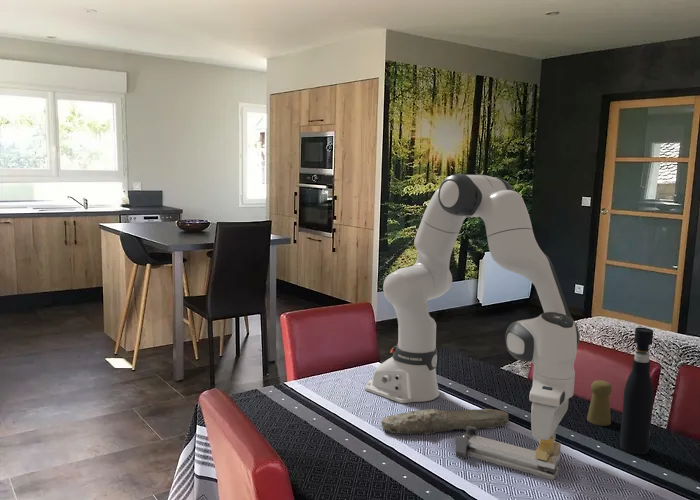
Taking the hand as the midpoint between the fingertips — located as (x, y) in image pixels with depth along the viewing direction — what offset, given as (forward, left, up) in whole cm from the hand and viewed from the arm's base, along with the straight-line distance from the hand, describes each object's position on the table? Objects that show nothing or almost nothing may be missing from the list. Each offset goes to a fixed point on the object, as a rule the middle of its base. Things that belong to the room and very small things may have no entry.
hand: (549, 442), depth 136 cm
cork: (+6, +31, -5) cm, 32 cm away
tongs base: (-8, -5, -5) cm, 11 cm away
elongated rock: (-28, +6, -6) cm, 29 cm away
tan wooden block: (0, +1, -5) cm, 5 cm away
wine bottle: (+16, +19, -5) cm, 25 cm away
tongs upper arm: (-8, -5, -3) cm, 10 cm away
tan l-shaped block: (0, -4, -1) cm, 4 cm away
